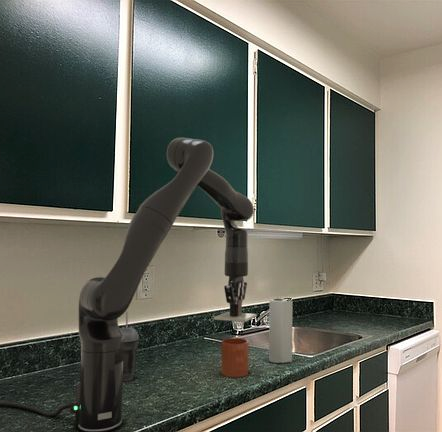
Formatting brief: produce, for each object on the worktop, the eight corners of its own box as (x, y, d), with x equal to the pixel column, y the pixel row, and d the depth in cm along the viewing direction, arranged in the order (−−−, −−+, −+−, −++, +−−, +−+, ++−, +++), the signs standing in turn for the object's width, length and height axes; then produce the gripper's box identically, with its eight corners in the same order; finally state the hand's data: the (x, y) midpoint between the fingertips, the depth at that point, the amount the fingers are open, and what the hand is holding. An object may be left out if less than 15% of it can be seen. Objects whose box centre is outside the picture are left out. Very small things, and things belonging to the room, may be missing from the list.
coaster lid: (213, 319, 141) (214, 300, 141) (227, 314, 150) (227, 296, 151) (245, 322, 137) (245, 302, 137) (256, 316, 147) (256, 298, 147)
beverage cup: (115, 384, 131) (117, 314, 132) (111, 377, 137) (113, 310, 138) (140, 380, 134) (142, 312, 135) (135, 374, 140) (137, 309, 141)
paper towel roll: (265, 360, 158) (266, 299, 159) (278, 357, 161) (278, 297, 162) (278, 365, 152) (279, 301, 153) (292, 362, 156) (292, 300, 157)
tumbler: (216, 375, 140) (217, 342, 141) (227, 367, 148) (228, 337, 149) (242, 378, 137) (242, 345, 138) (252, 370, 145) (252, 339, 146)
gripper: (234, 259, 152) (233, 311, 152) (216, 261, 139) (215, 318, 138) (254, 260, 150) (254, 312, 149) (239, 262, 137) (238, 319, 136)
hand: (235, 314), depth 144 cm, fingers closed on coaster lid, 3 cm apart
